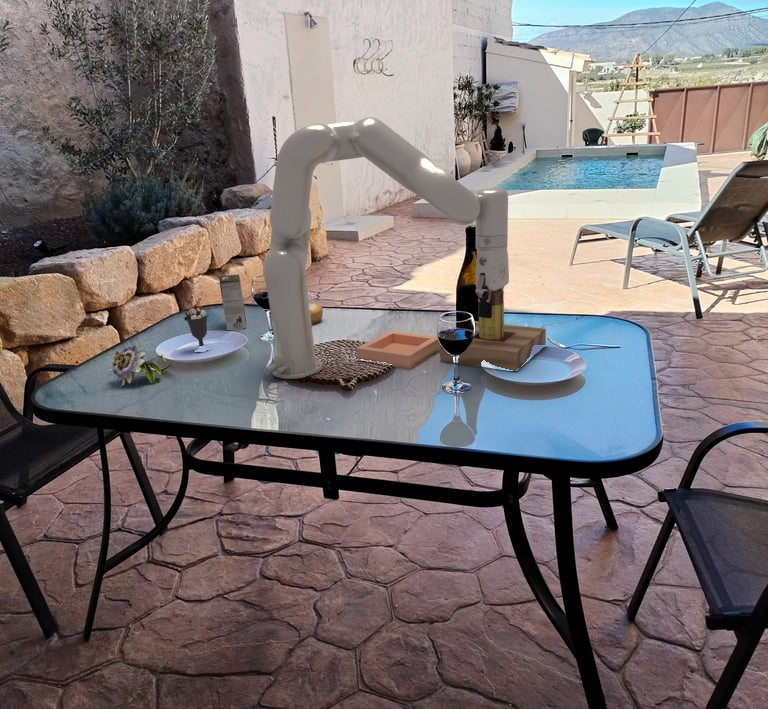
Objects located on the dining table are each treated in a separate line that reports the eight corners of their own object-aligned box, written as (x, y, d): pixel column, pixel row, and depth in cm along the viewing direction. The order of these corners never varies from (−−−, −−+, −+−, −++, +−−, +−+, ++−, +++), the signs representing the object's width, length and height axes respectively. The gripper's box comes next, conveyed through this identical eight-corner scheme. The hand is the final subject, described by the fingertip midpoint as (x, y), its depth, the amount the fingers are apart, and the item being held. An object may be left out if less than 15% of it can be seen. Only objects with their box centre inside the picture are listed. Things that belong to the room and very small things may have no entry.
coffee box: (226, 324, 205) (218, 275, 199) (246, 321, 206) (239, 273, 201) (226, 331, 196) (218, 281, 191) (247, 328, 198) (240, 278, 192)
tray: (410, 369, 152) (409, 355, 151) (357, 360, 161) (356, 348, 160) (441, 349, 165) (441, 337, 164) (390, 342, 173) (390, 330, 172)
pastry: (279, 324, 200) (275, 297, 197) (306, 315, 208) (303, 289, 205) (303, 330, 192) (300, 302, 189) (331, 320, 200) (328, 293, 197)
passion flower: (129, 405, 157) (96, 369, 155) (158, 382, 166) (126, 348, 164) (149, 387, 150) (114, 350, 149) (178, 364, 159) (145, 329, 157)
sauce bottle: (490, 337, 162) (491, 261, 156) (508, 342, 157) (511, 263, 151) (472, 342, 158) (473, 264, 152) (491, 347, 153) (493, 267, 147)
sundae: (218, 346, 182) (209, 296, 177) (208, 353, 175) (199, 302, 171) (197, 346, 183) (188, 296, 178) (186, 354, 177) (177, 302, 172)
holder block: (515, 372, 145) (515, 352, 144) (440, 361, 156) (439, 342, 155) (545, 347, 161) (545, 328, 159) (475, 338, 172) (474, 321, 170)
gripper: (491, 248, 141) (490, 324, 146) (520, 237, 154) (518, 307, 160) (461, 246, 145) (461, 321, 150) (492, 235, 158) (491, 304, 164)
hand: (491, 313), depth 155 cm, fingers closed on sauce bottle, 6 cm apart
